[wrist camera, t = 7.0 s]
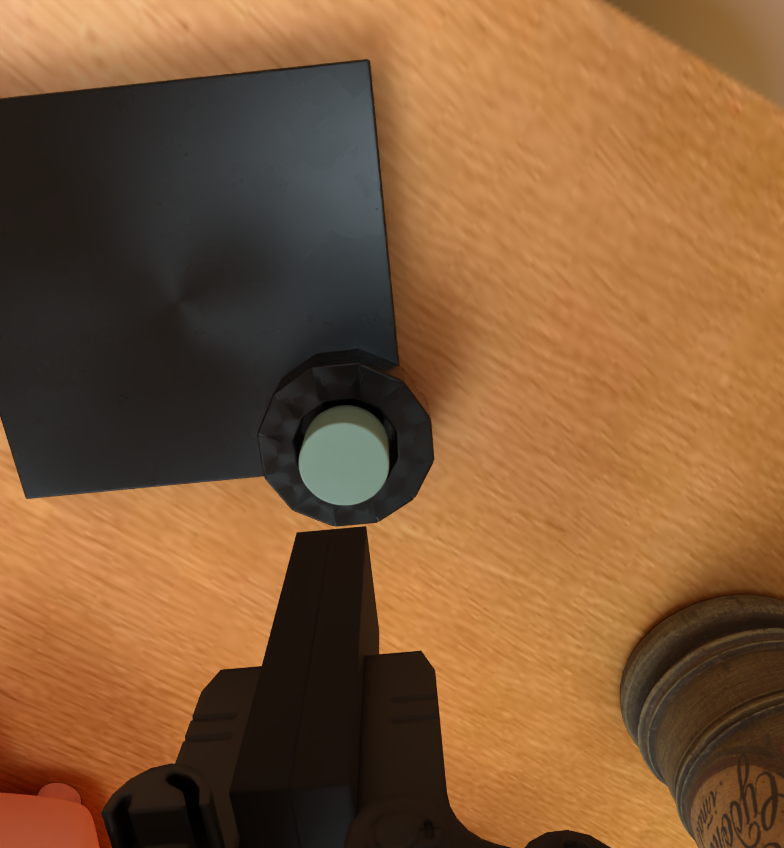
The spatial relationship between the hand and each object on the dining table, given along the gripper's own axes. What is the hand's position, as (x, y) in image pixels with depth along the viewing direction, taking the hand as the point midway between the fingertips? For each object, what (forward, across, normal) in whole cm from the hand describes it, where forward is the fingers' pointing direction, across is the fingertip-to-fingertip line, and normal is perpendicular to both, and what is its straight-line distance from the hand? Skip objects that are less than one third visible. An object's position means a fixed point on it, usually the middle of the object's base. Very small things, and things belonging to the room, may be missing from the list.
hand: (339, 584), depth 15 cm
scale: (+11, -5, +5) cm, 13 cm away
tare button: (+8, 0, 0) cm, 8 cm away
